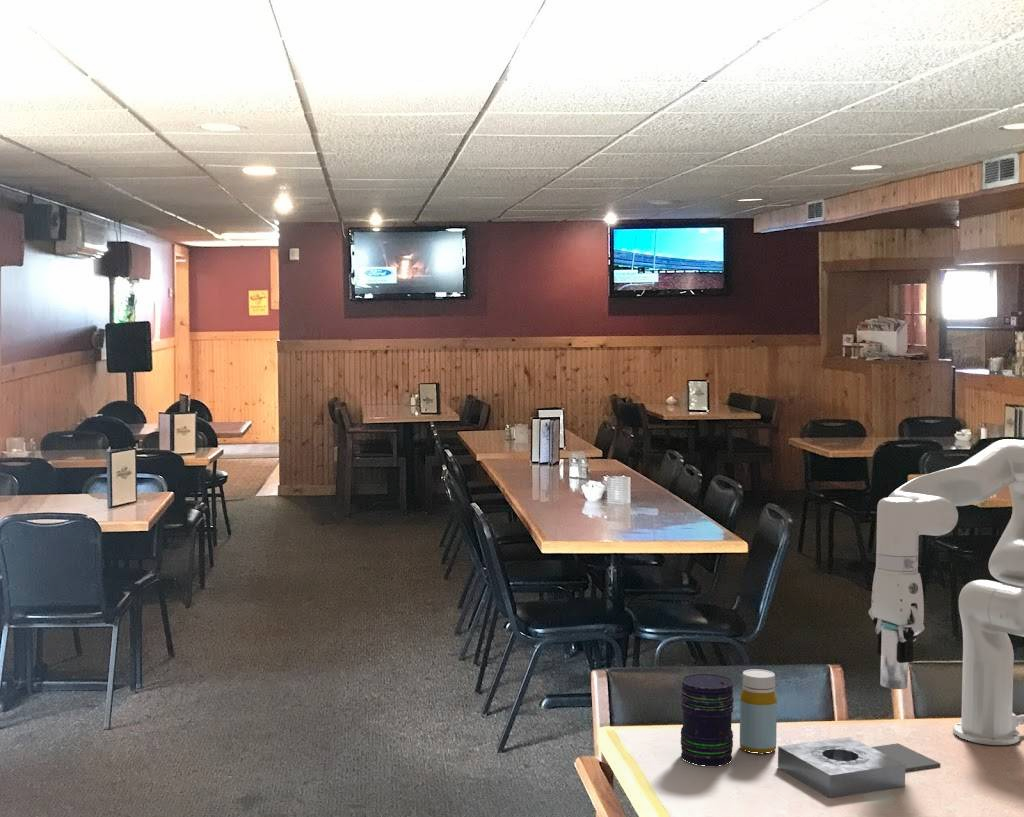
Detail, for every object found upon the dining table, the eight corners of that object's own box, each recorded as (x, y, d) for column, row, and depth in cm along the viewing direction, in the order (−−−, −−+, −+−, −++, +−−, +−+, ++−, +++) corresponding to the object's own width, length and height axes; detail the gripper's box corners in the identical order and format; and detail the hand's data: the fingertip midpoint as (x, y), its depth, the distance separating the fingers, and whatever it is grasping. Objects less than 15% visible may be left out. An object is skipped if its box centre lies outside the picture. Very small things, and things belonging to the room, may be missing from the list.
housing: (849, 757, 224) (849, 736, 224) (904, 786, 209) (905, 764, 209) (777, 767, 218) (778, 746, 218) (829, 797, 204) (830, 775, 203)
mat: (898, 746, 231) (898, 743, 231) (940, 766, 219) (940, 763, 219) (847, 753, 226) (847, 750, 226) (887, 774, 215) (887, 771, 215)
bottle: (776, 756, 224) (777, 679, 224) (739, 753, 226) (740, 677, 225) (775, 744, 231) (776, 669, 231) (739, 742, 233) (740, 667, 232)
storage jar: (672, 761, 221) (673, 683, 221) (690, 746, 230) (691, 671, 229) (723, 770, 217) (724, 691, 216) (739, 754, 225) (740, 678, 225)
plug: (896, 680, 225) (897, 619, 225) (913, 687, 221) (915, 624, 220) (874, 683, 224) (876, 620, 223) (891, 690, 219) (893, 626, 218)
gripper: (944, 569, 214) (942, 667, 215) (883, 554, 230) (882, 646, 231) (910, 572, 212) (908, 671, 213) (852, 556, 228) (850, 649, 229)
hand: (894, 657), depth 222 cm, fingers closed on plug, 5 cm apart
